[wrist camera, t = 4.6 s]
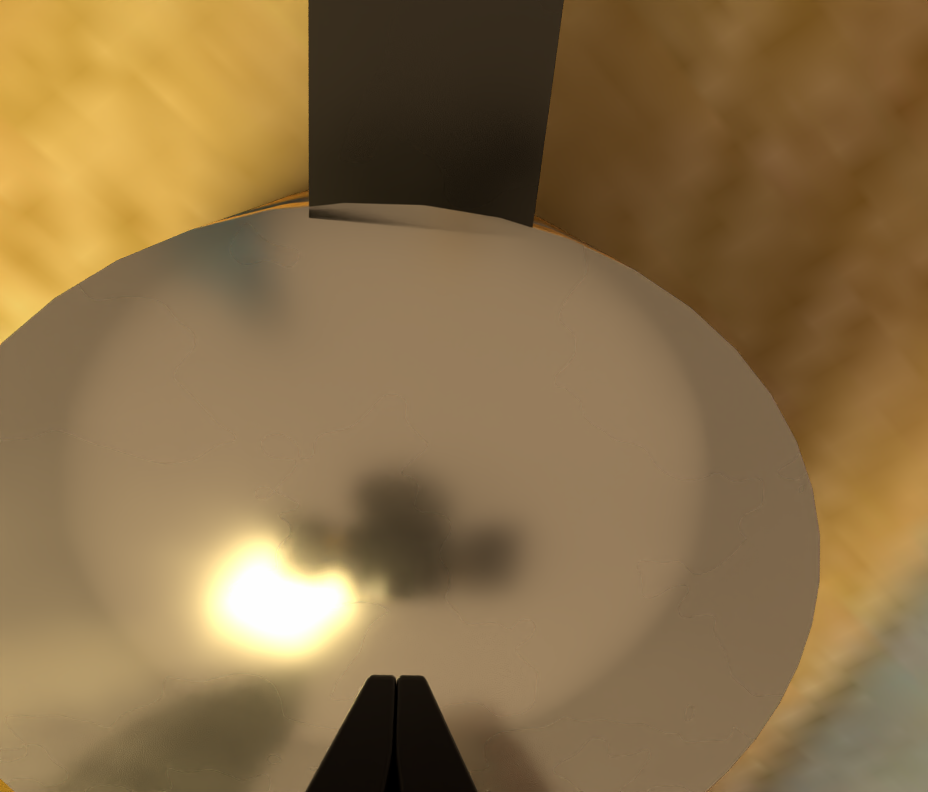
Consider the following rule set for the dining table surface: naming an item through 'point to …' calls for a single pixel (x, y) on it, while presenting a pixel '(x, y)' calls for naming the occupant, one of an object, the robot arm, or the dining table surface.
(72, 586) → the lid
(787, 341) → the dining table surface
